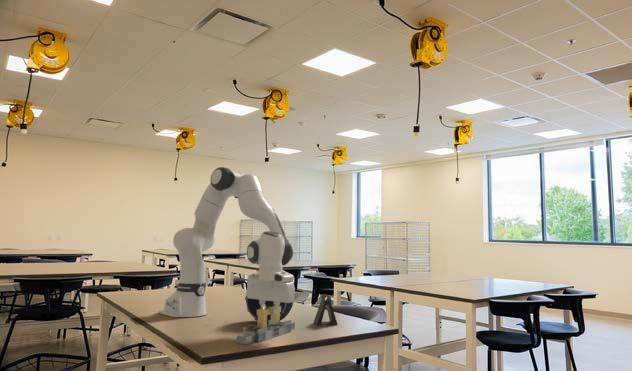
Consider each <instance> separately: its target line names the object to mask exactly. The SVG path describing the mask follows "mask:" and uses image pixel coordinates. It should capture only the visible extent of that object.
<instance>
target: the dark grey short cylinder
mask: <svg viewBox="0 0 632 371" xmlns="http://www.w3.org/2000/svg"><path fill="white" fill-rule="evenodd" d="M244 301H245V302H246V303H245V304H246V310H247V312H248V313H249V314H250V315H251V317H252V318H253V319H254V320H255V321H257V322H258V315H257V309H261V306H260V303H259V300H258V299H250V298H247V296H246V295H245V298H244ZM264 303H265V306H266V307H269V306H274V305H275V304H274V301H266V302H264ZM279 306H281V312H280V322H281V321H282V320H284V319H285V318H286V317H287V316H288V315H289V314H290V312H291V310H292V308H293V306H294V301H293V302H291V303H283V302H280V305H279ZM269 320H271V314H269V315H267V324H269Z"/></svg>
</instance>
